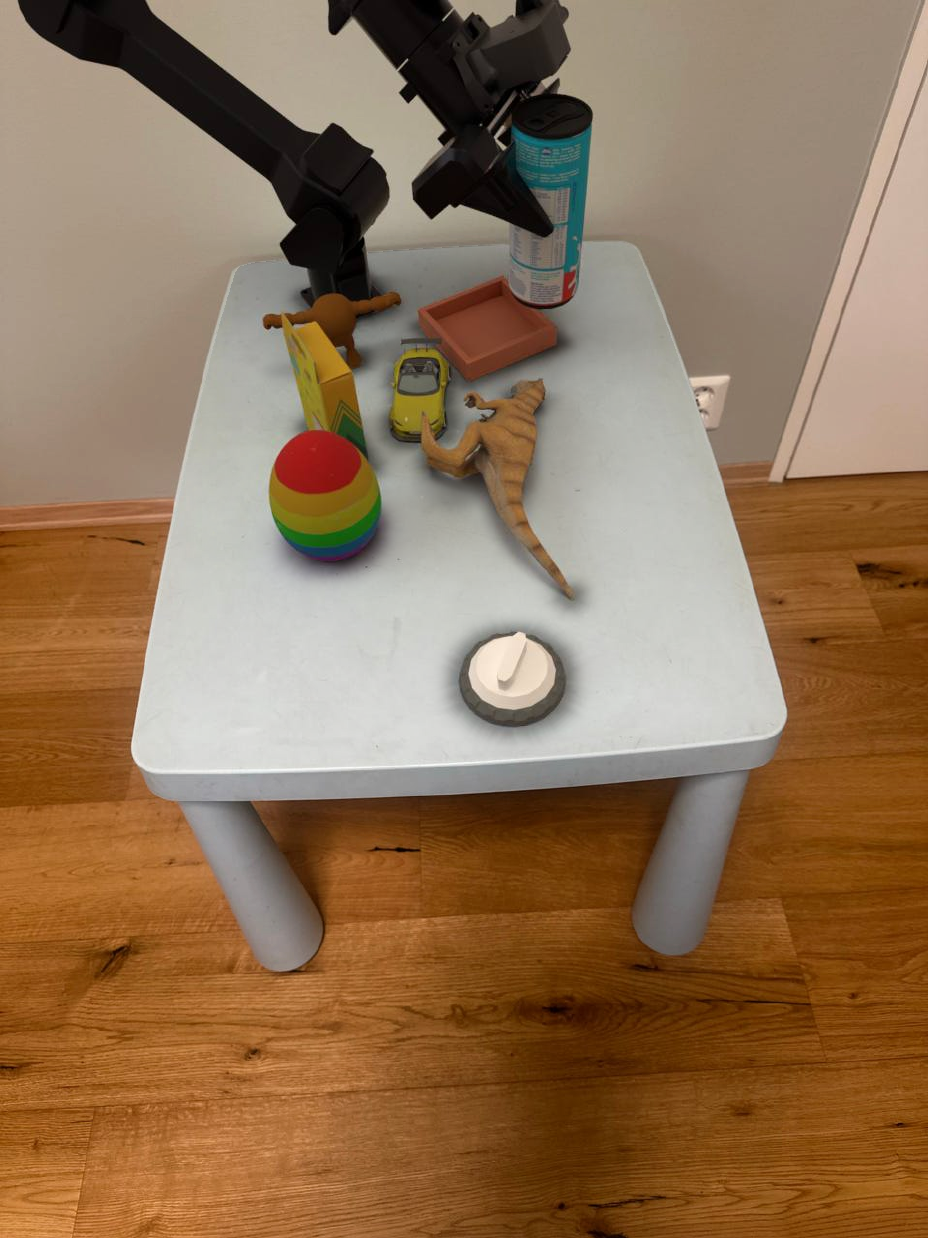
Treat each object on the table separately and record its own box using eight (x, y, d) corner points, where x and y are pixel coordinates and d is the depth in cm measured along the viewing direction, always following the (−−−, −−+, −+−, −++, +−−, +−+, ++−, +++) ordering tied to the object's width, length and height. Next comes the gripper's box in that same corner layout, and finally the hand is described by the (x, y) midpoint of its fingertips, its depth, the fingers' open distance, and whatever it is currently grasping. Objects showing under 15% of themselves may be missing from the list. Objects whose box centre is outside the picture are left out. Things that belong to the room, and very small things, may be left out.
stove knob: (442, 707, 63) (440, 684, 60) (481, 624, 67) (479, 599, 64) (546, 739, 61) (547, 717, 59) (579, 652, 65) (581, 628, 63)
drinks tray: (419, 327, 87) (417, 308, 85) (503, 293, 89) (503, 274, 87) (468, 382, 82) (467, 364, 80) (556, 344, 84) (557, 326, 82)
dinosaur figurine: (437, 391, 81) (573, 394, 80) (411, 596, 69) (573, 602, 68) (433, 327, 76) (579, 330, 75) (404, 537, 63) (579, 543, 62)
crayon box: (372, 467, 76) (350, 352, 67) (338, 480, 76) (312, 366, 66) (337, 413, 80) (312, 297, 71) (305, 426, 80) (276, 310, 70)
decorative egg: (286, 584, 70) (254, 492, 62) (278, 505, 74) (248, 410, 66) (393, 564, 70) (376, 471, 62) (379, 487, 75) (361, 391, 67)
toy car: (386, 442, 78) (382, 415, 75) (396, 364, 84) (392, 336, 81) (447, 442, 78) (444, 414, 75) (452, 363, 83) (450, 335, 81)
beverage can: (591, 297, 79) (609, 118, 67) (533, 321, 77) (541, 143, 65) (551, 262, 82) (562, 84, 70) (495, 285, 80) (495, 107, 68)
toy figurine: (404, 338, 86) (395, 273, 80) (411, 363, 84) (403, 298, 78) (275, 361, 85) (257, 297, 79) (279, 388, 83) (261, 324, 77)
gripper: (443, 20, 56) (603, 224, 62) (547, -94, 66) (676, 92, 72) (344, 129, 64) (494, 299, 71) (449, 14, 74) (572, 172, 80)
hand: (562, 212), depth 73 cm, fingers closed on beverage can, 6 cm apart
